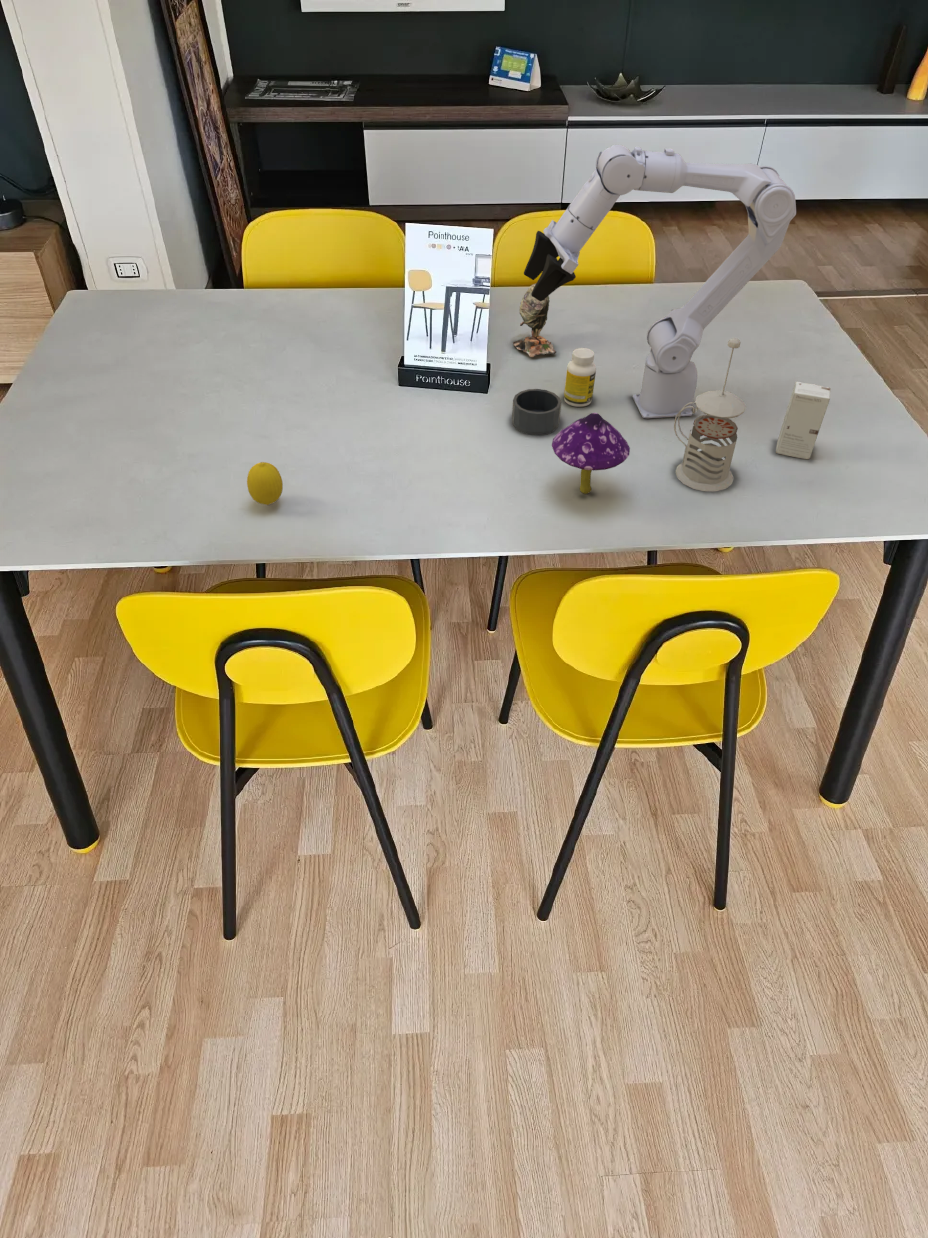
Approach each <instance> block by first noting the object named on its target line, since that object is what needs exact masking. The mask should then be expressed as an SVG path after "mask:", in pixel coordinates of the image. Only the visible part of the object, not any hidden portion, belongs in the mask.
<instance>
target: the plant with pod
mask: <svg viewBox="0 0 928 1238" xmlns="http://www.w3.org/2000/svg"><path fill="white" fill-rule="evenodd" d="M556 259H557V260H558V257H557V258H556ZM535 285H536V283H533V284H531V285H530V287H529V288H527V290H526V291H525V293H524V295H523V297H522V298H521V302H520V305H519V310H518V311H519V315H520V317H521V319H522V321H521V322H520V323H519V326H520V327H523V326H524V325H526V326H527V327H529V328H530V329H531V336H526V337H524V339H523V340H522V339H519V340H517V341H512V345H513V346H514V347H515V348H516V350H517V351H518V350H519V351H523V353H526V354H527V355H528V356H529V357H530V358H534V357H537V356H538V355H545V354H546V355H550V354H551V355H555V354H556V353H557V351H556V350H555V348H554V344H553V343H552V342H551V341H550V340H549V339H547V338H545V337H543V336H541V335H540V333H541V332H542V330H543V328H544V327H545V325H546V324H547V320H548V314H549V309H550V295H549V296H548V297H546V298H545V299H544V300H543V301H539V300H537V299H535V298H534V297H532V295H531V293H532V291H533V288H534V287H535Z"/></svg>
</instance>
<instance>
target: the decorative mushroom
mask: <svg viewBox="0 0 928 1238" xmlns="http://www.w3.org/2000/svg"><path fill="white" fill-rule="evenodd" d="M551 448H552V450H553V453H554V454H555V456H556V457H557V458H558V459H559V460H560V461H561V462H563V463H564V464H567V465H568V466H570V467H573V468H576V469H579V470H580V482H579V483H580V484H579V491H580V493H582V495H583V494H584V495H588V494H589V493H590V494H591V492H592V486H591V484H592V483H591V480H592V479H591V478H592V472H593V471H605V470H606V471H607V470H610V469H613V468H616V467H618V466H619V465H621V464H623V463H624V462H625V461H626V460H627V459H628V458H629V456H630V453H631V447H630V445H629V443H628V441H627V439H625V438H624V437H623V435H622V433H621V432H620V431H619V430H618V429H617V428H616V427H615V426H613V425H612V423H610V422H609V421H607V419H604V418H603V417H602V415H601V414H599V413H598V412H591V413H588V414H587V415H586V416H584V417H581V418H579V419H576V420H575V421H574V422H572V423H570V424H569V425H568V426H566V427H564V428H562V429H561V430H559V432H557V434H556V435H555V436H554V437H553V438H552V442H551Z"/></svg>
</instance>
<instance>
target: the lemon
mask: <svg viewBox="0 0 928 1238" xmlns="http://www.w3.org/2000/svg"><path fill="white" fill-rule="evenodd" d="M283 484H284V483H283V479H282V476H281V474H280V471H279V470H278V468H277V467H276V466H275V465H274V464H272V463H270V462H265V461H259V462H258V463H255V464H254V465H252V467H251V468H250V469H249V470H248V473H247V476H246V486H247V491H248V493H249V496H250V497H251V498H252V499H253V500H254V501H255V502H256V503H258V504H260V505H265V506H270V505H271V504H274V503H276V502H277V501H278V500H279V499H280V498H281V496H282V493H283V488H284V487H283V486H284V485H283Z"/></svg>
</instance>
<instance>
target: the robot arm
mask: <svg viewBox="0 0 928 1238" xmlns="http://www.w3.org/2000/svg"><path fill="white" fill-rule="evenodd" d="M682 187H690V188H697V189H705V190H711V191H712V190H713V191H720V192H726V193H727V192H728V193H731V194H732V195H734V196H735V198H737V199H738V200H739V201H740V202H741V203H743V205H744V207H745V209H746V212H747V222H748V223H747V226H748V233H747V236H746V237H745V238H743V240H742V241H741V242H740V243H739V244H738V245H737V246H736V247H735V249H734V250H733V251H732V252H731V253H729V255H728V256H727V257H726V258H725V260H724V261H723V262H722V263H721V264H720V265H719V266H718V267H717V269H715V271H714V272H713V273H712V274H711V275H710V276H709V277H708V278H707V279H706V280H705V281H704V283H703V284H702V285H701V286H700V287H699V288H698V290H696V292H695V293H693V295H692V296H691V297H690V298H689V300H687V301H686V303H685V304H684V305H682V307H678V308H675V309H671V310H670V311H669V312H668V313H667V314H666V315H665V316H664V317H662V318H660V319H658V320H656V321H654V322H653V323H652V324H651V325H650V326H649V328H648V330H647V333H646V341H647V344H648V345H649V347H650V350H649V352H648V354H647V355H646V358H645V363H644V370H643V375H642V381H641V388H640V393H638V394H633V395H632V400H633V401H634V403H635V405H636V407H637V409H638V411H639V413H640V415H641V417H642V418H643V419H659V418H675V417H676V416H677V414H678V413H679V412H680V410H681V409H682V408H683V407H684V406H685V405H686V404H688V403H690V402H694V401H695V400H694V399H695V394H696V391H697V385H698V370H697V366H696V364H695V362H693V361H692V358H693V357H692V356H693V354H694V353H695V351H696V350H698V348H699V347H700V345H701V341H702V337H703V333H704V330H705V329H706V328H707V327H708V326H709V325H710V323H711V322H712V321H713V320H714V319H715V318H716V317H717V316H718V315H719V314H720V313H721V312H722V311H723V310H724V308H725V307H727V306H728V304H729V303H730V302H731V301H732V300H733V299H734V298H735V297H736V296H737V295H738V293H740V292H741V290H743V288H745V286H746V285H747V284H748V283H749V282H750V281H751V280H752V279H753V278H754V276H756V274H757V273H758V272H759V271H760V270H761V269H762V268H763V267H764V266H765V265H766V264H767V263H768V262H769V261H770V260H771V258H772V257H773V256H774V255H775V254H776V253H777V252H778V251H779V250H780V248H782V246H783V243H784V240H785V237H786V235H787V231H788V229H789V226H790V223H791V221H792V220H793V219H794V218H795V216H796V215H797V205H796V204H797V202H796V195H795V192H794V191H793V189H792V188H791V187H790V186H789V185H787V184H786V183H785V181H784V180H783V178H781V177H780V174H779V173H778V171H777V170H776V169H775V168H774V167H771V166H768V165H761V166H759V164H756V163H753V162H751V163H718V162H717V163H715V162H714V163H713V162H686V161H685V160H684V158H683V157H682V155H681V154H680V153H678V152H675V150H674V149H673V148H672V147H665V148H664V149H663V151H656V150H655V151H654V150H643V149H642V147H641V146H634V149H633V150H630V149H629V148H628V147H626V146H625V145H622V144H612V145H610V147H606V148H605V149H604V150H603V151H599V152H598V153H597V156H596V160H595V168H594V171H593V172H592V173H591V174H590V176H589V177H588V179H587V180H586V181H585V182H584V184H583V185H582V186H581V188H580V189H579V190H578V192H577V194H576V195H575V197H574V198H573V199H572V201H570V203H569V204H568V206H567V208H566V209H565V210H564V212H563V214H562V215H561V217H560V218H559V219H558V221H557V222H556V221H555V220H554V219H551V221H550V223H549V224H548V226H547V227H545V228H544V229H543V230H542V231H540V230H537V231H536V232H535V240H534V245H533V248H532V251H531V254H530V257H529V258H528V260H527V263H526V265H525V268H524V271H523V275H524V276H525V277H527V278H529V279H530V280H532V281H534V280H536V279H537V278H538V280H537V281H536V283H535V284H536V285H535V287H534V288H533V291H532V293H531V295H532V297H534V298H535V299H537V300H539V301H543V300H544V299H545V298H546V297H548V296H549V297H550V295H551V294H552V293H554V292H555V291H556V290H557V289H559V288H560V287H562V286H563V285H566V284H568V283H570V282H573V281H575V279H576V277H577V276H576V273H575V272H574V271H575V270H576V269H577V268H578V266H579V257H580V251H581V250H582V249H583V247H585V245H586V243H587V242H588V241H589V239H590V238H591V237H592V235H593V234H594V232H595V231H596V230H597V228H598V227H599V226H600V225H601V223H602V222H603V220H604V219H605V218H606V216H607V215H608V214H609V212H610V211H611V210H612V208H613V207H614V205H615V203H616V202H617V201H618V199H619V198H620V197H621V196H625V195H627V194H629V193H630V192H632V191H640V192H651V193H666V194H674V193H675V192H676V191H678V190H680V189H681V188H682ZM558 257H559V258H558ZM556 258H557V259H556ZM693 404H694V403H693ZM693 404H690V405H688V406H693ZM688 406H686V407H688ZM691 416H693V408H692V407H691V408H686V409H685V410H683V411H682V412H681V415H680V417H691ZM678 417H679V415H678Z"/></svg>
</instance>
